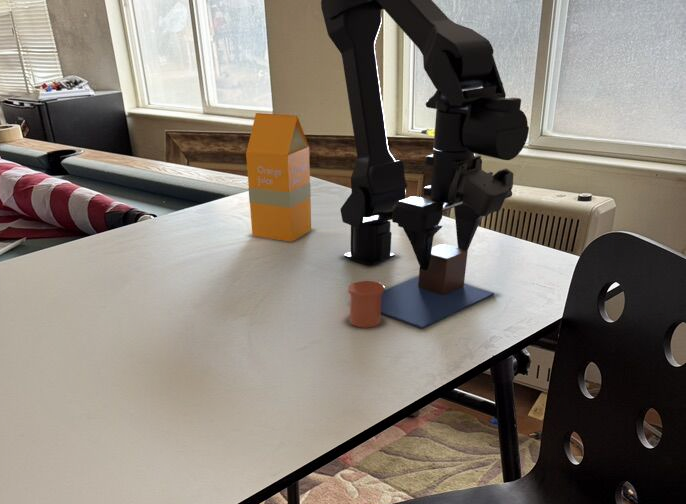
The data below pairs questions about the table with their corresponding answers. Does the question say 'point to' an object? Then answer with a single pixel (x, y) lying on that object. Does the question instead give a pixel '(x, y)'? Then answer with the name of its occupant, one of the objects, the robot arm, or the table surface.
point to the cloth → (427, 302)
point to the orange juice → (279, 178)
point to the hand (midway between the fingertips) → (443, 261)
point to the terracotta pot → (365, 303)
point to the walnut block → (444, 270)
